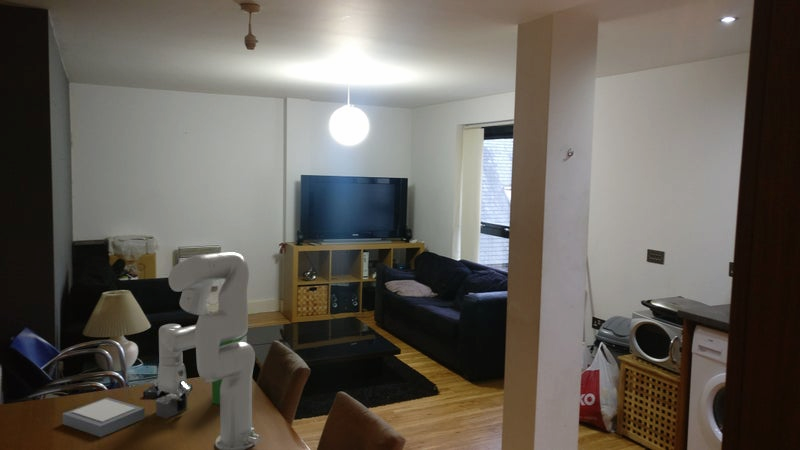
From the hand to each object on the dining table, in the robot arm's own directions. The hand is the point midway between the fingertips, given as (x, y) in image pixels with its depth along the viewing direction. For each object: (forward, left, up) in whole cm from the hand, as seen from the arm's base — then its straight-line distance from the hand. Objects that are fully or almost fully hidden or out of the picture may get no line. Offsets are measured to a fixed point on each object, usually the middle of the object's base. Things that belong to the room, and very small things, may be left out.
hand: (172, 407), depth 194 cm
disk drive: (+16, -12, -2) cm, 20 cm away
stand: (+14, +16, -2) cm, 21 cm away
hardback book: (-6, -22, -2) cm, 23 cm away
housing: (0, 0, -2) cm, 2 cm away
